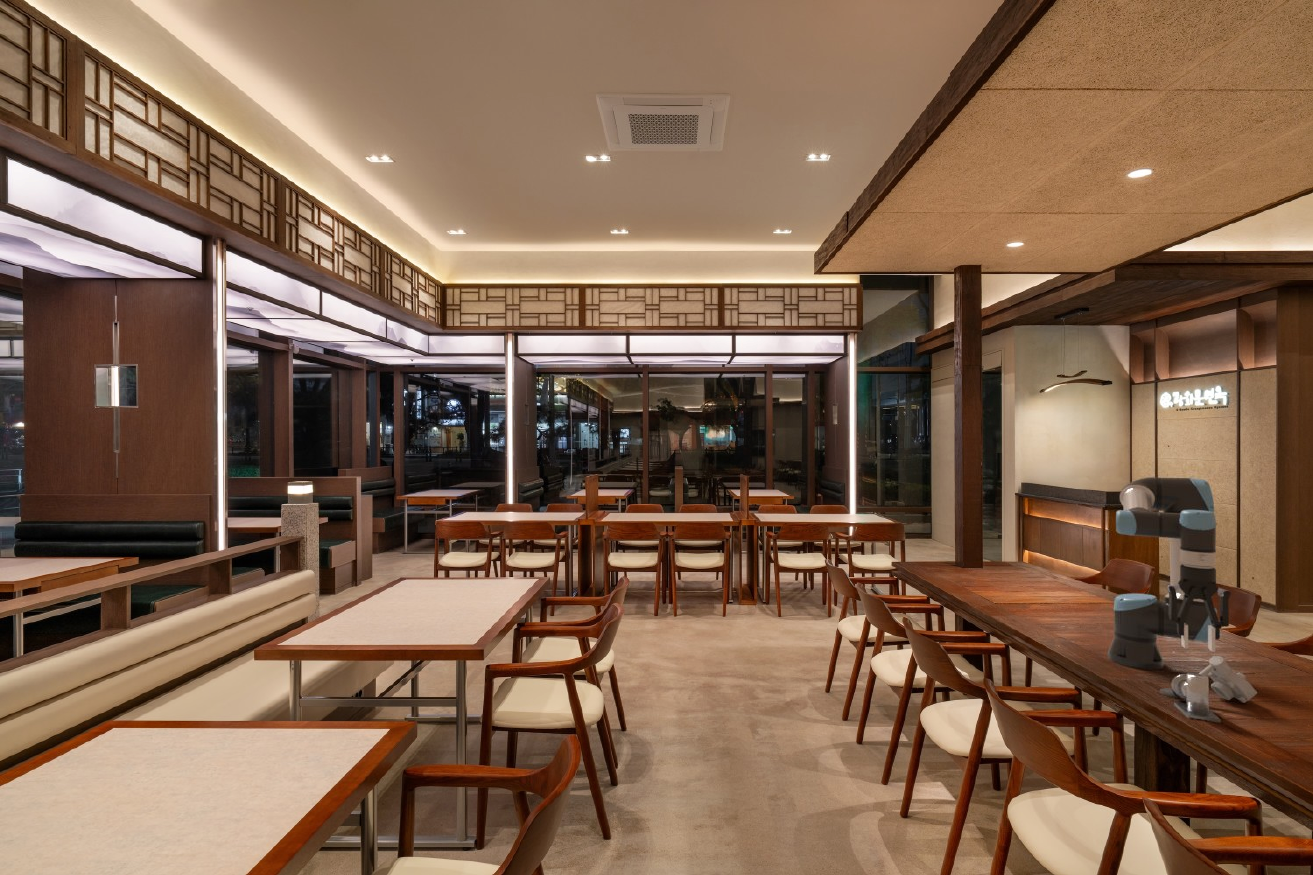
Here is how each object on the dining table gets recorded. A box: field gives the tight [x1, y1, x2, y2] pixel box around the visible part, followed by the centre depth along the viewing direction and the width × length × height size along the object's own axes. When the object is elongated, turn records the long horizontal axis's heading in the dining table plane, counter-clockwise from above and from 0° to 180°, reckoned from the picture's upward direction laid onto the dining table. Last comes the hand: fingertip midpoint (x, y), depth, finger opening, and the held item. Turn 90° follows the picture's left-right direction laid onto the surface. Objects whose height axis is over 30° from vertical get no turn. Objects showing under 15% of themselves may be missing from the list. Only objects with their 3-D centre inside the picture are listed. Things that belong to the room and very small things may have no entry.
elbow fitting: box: [1170, 672, 1222, 723], centre depth 171 cm, size 12×7×11 cm, turn 159°
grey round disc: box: [1159, 688, 1181, 700], centre depth 183 cm, size 6×6×1 cm
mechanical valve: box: [1171, 655, 1258, 704], centre depth 179 cm, size 10×18×15 cm
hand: (1198, 648), depth 170 cm, fingers open, 5 cm apart
